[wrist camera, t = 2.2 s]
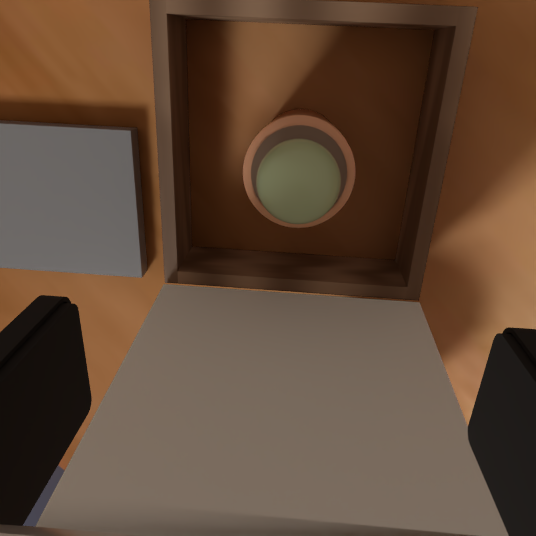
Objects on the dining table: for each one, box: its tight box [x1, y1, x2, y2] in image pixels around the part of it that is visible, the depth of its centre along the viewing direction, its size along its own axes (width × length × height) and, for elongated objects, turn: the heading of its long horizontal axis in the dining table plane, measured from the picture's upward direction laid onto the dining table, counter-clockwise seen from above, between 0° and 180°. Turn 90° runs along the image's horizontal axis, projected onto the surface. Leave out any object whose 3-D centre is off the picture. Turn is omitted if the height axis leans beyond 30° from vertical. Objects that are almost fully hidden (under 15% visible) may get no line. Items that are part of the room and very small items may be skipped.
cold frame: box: [149, 0, 478, 300], centre depth 33 cm, size 19×19×5 cm
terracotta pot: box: [243, 109, 355, 228], centre depth 30 cm, size 7×7×12 cm
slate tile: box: [0, 120, 147, 278], centre depth 38 cm, size 13×12×2 cm
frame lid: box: [35, 284, 509, 536], centre depth 27 cm, size 19×19×1 cm
